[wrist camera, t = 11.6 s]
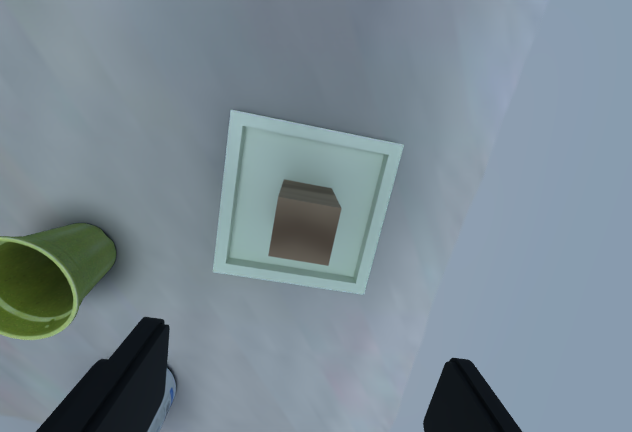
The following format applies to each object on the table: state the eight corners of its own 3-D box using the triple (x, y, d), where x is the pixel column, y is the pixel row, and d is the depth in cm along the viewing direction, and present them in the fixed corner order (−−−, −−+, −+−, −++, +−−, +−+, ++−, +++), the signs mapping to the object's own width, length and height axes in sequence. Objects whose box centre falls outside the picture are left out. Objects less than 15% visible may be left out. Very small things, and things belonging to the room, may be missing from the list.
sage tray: (235, 110, 29) (230, 109, 27) (397, 143, 31) (404, 144, 29) (218, 263, 34) (212, 272, 32) (360, 285, 35) (363, 294, 33)
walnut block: (283, 179, 31) (278, 196, 23) (331, 188, 31) (341, 208, 24) (276, 225, 32) (268, 256, 25) (322, 233, 33) (328, 265, 25)
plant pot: (134, 292, 34) (80, 345, 26) (45, 283, 34) (-39, 335, 25) (132, 214, 32) (72, 245, 24) (36, 202, 31) (-61, 230, 23)
